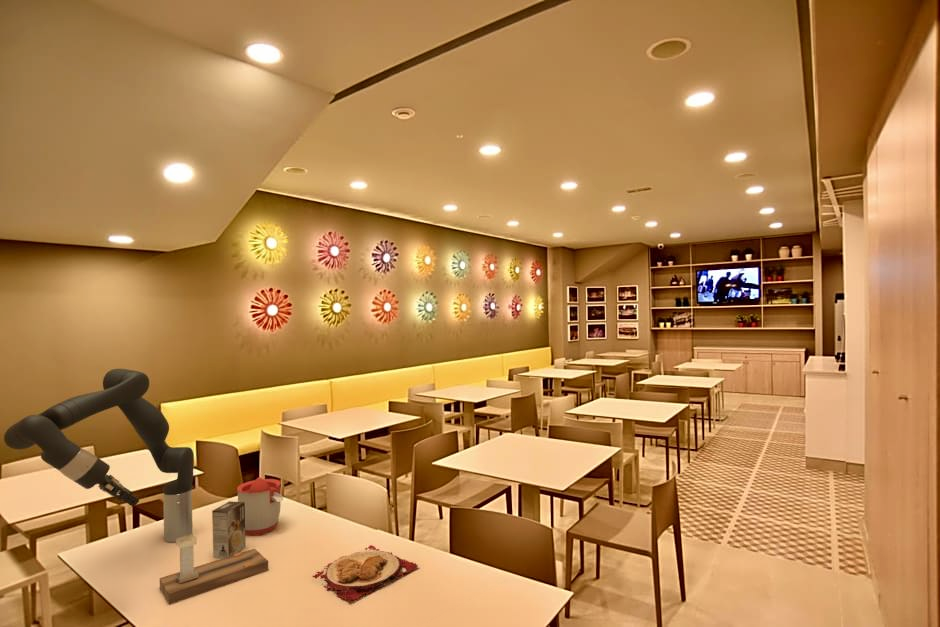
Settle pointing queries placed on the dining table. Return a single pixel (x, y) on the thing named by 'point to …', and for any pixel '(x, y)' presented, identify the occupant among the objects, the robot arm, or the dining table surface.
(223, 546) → the coffee box
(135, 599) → the dining table surface
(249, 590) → the dining table surface
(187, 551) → the slider tab
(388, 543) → the dining table surface
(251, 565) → the brown wooden slider base
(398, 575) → the plate with food
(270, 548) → the dining table surface
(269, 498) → the citrus juicer
